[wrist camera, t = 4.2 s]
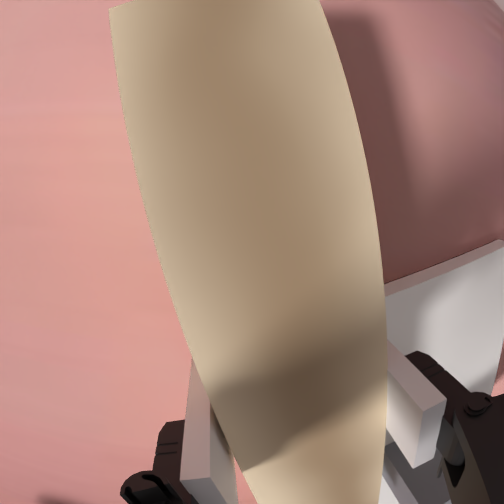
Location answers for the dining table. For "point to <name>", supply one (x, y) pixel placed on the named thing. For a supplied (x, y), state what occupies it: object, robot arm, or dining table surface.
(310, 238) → the wooden beam
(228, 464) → the robot arm
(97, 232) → the dining table surface
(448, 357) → the fulcrum
